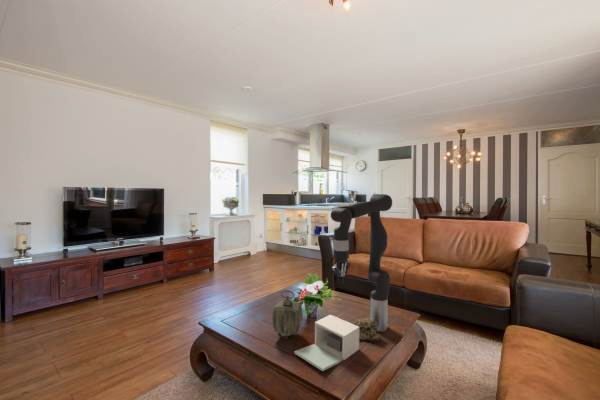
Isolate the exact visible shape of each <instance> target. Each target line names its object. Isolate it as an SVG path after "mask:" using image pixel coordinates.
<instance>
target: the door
mask: <svg viewBox="0 0 600 400" xmlns="http://www.w3.org/2000/svg"><path fill="white" fill-rule="evenodd" d="M294 355H296V356H298V357H299V358H301V359H303V360H304V361H305V362H307V363H309V364H310V365H312V366H314V367H315V368H317V369H318V370H319V371H322V372H324V371H326V370H329V369H331V368H332V367H334V366H336V365H338V364H340V363H341V362H342V361H343V359H341V358H339V357H338V356H336V355H334V354H332V353H330V352H329V351H327V350H325V349H323V348H321V347H320V346H318V345H316V344H315V343H313V344H309V345H307V346H304V347H301V348H299V349H297V350H295V351H294Z"/></svg>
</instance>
